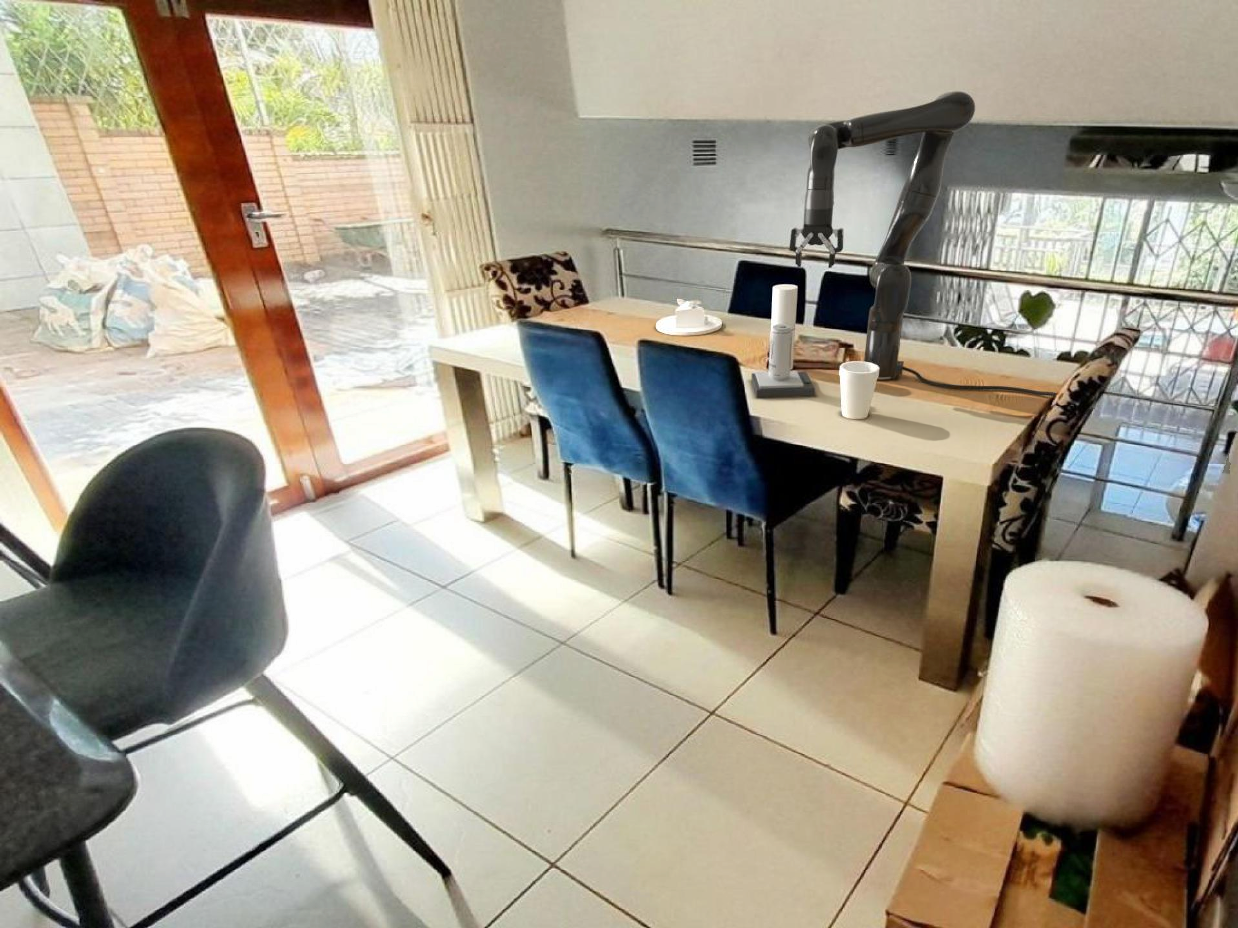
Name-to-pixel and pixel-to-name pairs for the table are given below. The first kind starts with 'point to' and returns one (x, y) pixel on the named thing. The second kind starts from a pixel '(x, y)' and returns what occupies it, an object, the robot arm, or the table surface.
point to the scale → (782, 385)
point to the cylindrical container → (785, 309)
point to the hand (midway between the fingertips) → (814, 267)
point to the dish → (689, 320)
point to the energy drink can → (780, 352)
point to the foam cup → (857, 388)
